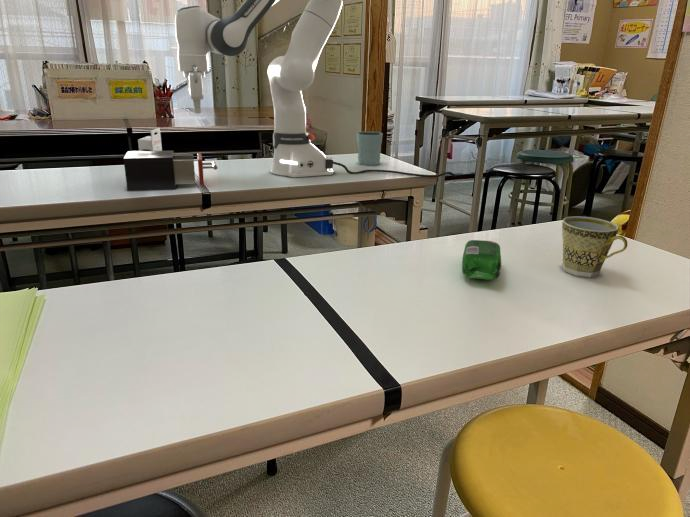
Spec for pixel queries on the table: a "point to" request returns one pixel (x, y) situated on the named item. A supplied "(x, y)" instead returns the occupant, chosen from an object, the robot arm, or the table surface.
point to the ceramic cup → (587, 244)
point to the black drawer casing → (149, 170)
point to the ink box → (151, 142)
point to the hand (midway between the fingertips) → (197, 113)
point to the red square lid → (189, 168)
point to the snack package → (481, 260)
